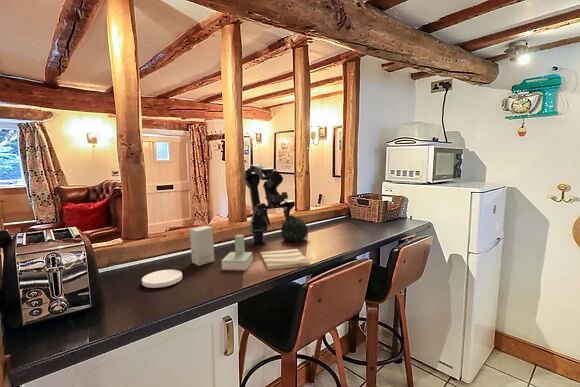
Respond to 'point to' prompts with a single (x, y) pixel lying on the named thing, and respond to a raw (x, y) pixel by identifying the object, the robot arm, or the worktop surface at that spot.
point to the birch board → (284, 259)
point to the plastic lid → (162, 278)
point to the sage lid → (238, 252)
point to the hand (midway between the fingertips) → (278, 224)
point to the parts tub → (237, 265)
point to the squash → (294, 229)
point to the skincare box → (202, 245)
